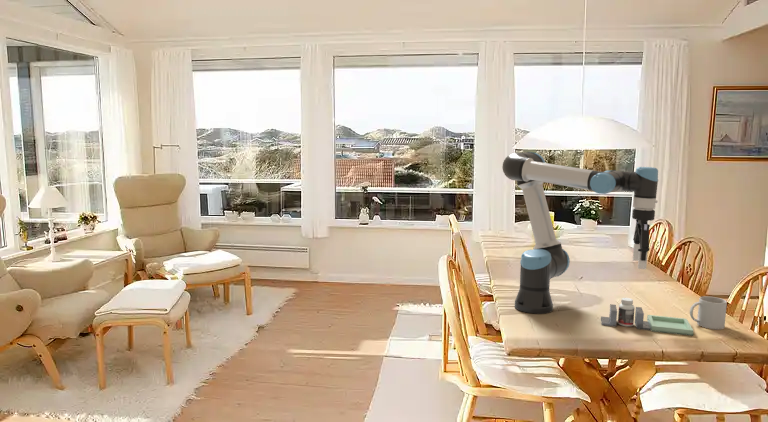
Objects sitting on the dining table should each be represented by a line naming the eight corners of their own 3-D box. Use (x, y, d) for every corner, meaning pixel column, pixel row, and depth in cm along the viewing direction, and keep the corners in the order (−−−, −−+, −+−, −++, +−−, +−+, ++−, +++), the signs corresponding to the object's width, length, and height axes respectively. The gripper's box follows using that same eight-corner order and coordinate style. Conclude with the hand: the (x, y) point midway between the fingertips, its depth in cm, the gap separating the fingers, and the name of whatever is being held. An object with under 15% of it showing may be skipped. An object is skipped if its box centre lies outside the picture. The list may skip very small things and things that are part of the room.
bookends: (601, 325, 207) (602, 309, 206) (600, 318, 215) (601, 303, 214) (651, 330, 202) (653, 314, 201) (649, 323, 209) (650, 308, 208)
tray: (651, 331, 201) (651, 325, 201) (647, 319, 214) (647, 314, 213) (693, 335, 197) (693, 330, 197) (686, 323, 209) (686, 318, 209)
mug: (726, 325, 208) (729, 299, 207) (721, 331, 201) (723, 305, 200) (694, 318, 215) (696, 293, 214) (688, 324, 208) (690, 299, 207)
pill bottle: (614, 322, 211) (616, 297, 209) (628, 321, 211) (630, 296, 210) (622, 327, 205) (624, 301, 204) (636, 326, 206) (638, 301, 205)
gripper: (661, 214, 194) (655, 273, 197) (649, 205, 217) (644, 258, 220) (638, 212, 196) (633, 271, 199) (628, 204, 219) (624, 256, 222)
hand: (639, 264), depth 210 cm, fingers open, 13 cm apart
